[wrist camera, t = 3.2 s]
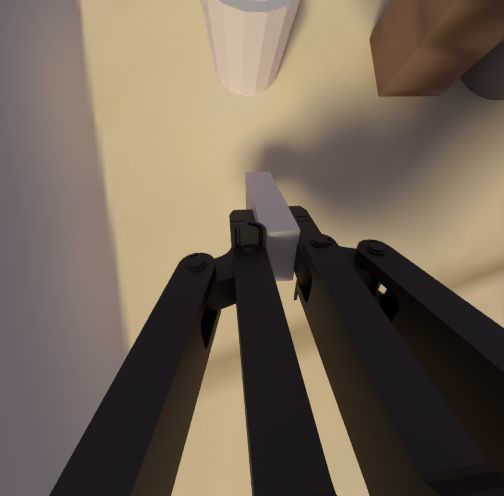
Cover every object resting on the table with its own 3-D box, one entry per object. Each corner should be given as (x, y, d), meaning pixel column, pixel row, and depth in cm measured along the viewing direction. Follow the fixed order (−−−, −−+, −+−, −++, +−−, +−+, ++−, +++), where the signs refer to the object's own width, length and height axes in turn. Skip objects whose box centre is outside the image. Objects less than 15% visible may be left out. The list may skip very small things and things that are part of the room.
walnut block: (428, 39, 23) (579, -146, 13) (438, 96, 22) (608, -55, 12) (369, 39, 22) (480, -156, 12) (378, 96, 21) (504, -61, 11)
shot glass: (288, 41, 21) (314, -73, 14) (279, 108, 20) (303, 21, 13) (213, 26, 21) (203, -99, 14) (201, 94, 20) (184, -4, 13)
